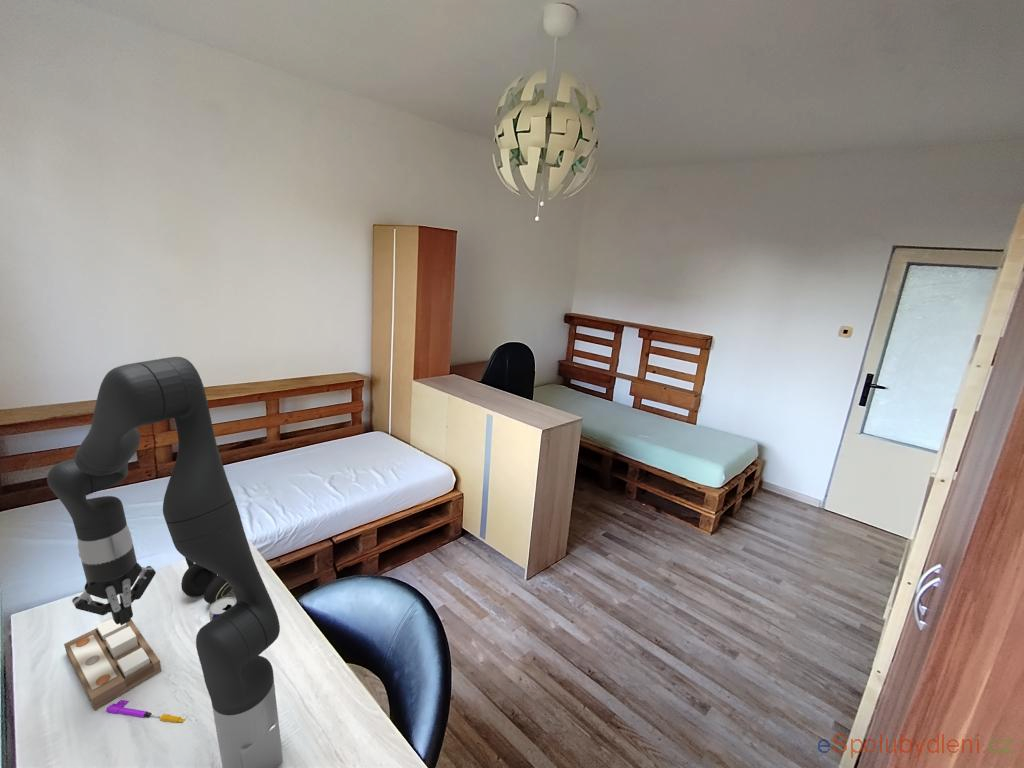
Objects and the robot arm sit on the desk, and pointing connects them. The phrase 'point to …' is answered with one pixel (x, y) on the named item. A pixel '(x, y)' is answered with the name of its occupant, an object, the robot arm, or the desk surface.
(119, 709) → the purple-handled probe tool
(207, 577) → the headphones
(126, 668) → the button
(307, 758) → the desk surface
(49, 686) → the desk surface
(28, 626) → the desk surface
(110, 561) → the robot arm
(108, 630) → the button
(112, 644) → the button middle
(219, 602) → the energy drink
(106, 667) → the button board
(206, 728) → the desk surface
